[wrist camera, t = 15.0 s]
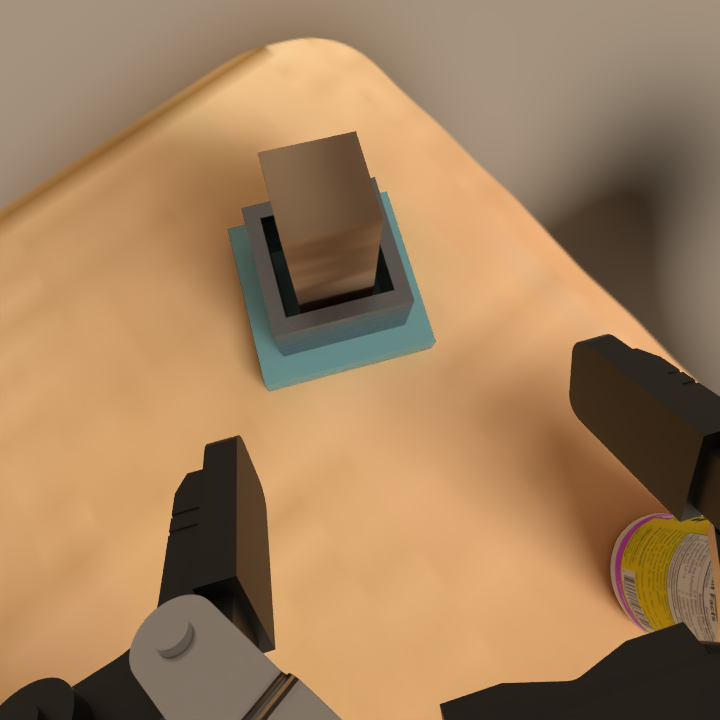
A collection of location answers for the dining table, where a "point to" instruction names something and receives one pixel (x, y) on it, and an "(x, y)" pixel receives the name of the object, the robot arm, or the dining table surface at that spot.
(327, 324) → the square socket frame
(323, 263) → the rail post
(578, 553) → the dining table surface
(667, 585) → the supplement bottle
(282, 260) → the plate
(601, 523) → the dining table surface
